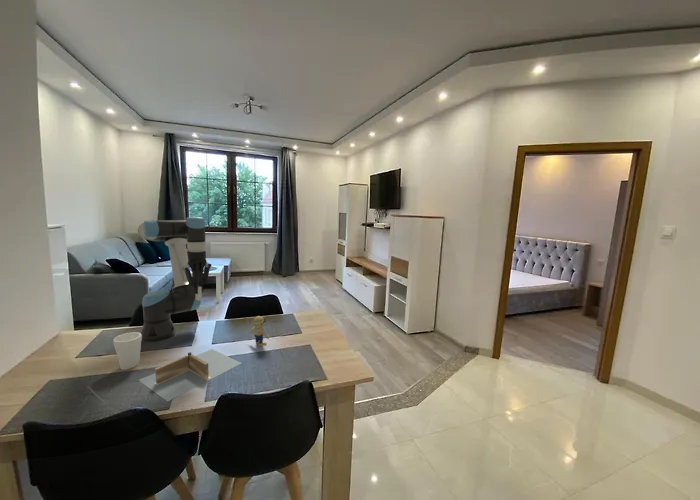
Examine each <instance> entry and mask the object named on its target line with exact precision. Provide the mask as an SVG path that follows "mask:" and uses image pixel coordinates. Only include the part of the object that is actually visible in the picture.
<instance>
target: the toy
mask: <svg viewBox="0 0 700 500" xmlns="http://www.w3.org/2000/svg"><path fill="white" fill-rule="evenodd" d="M265 323H266V319H265V318H264V317H263V316H260V315H257V316H255V317H254V318H253V324H254V326H253V327H252V328H251V330H250V331H249V332H248V334H249V335H250V334H251V333H253V335H254V337H255V345H259V346H265V345H267V342H264V337H265V338H266V339H267V340H269V339H270V336H269V335H267V333H266V331H265V329H264V326H265Z"/></svg>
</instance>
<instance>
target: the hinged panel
mask: <svg viewBox="0 0 700 500" xmlns="http://www.w3.org/2000/svg"><path fill="white" fill-rule="evenodd" d="M187 356H188V364H189V368H190V369H191V370H192V371H194V372H196V373H197V374H199V375H201V376H202V377H204V378H208V377H209V371H208V363H207V362H205V361H203V360H201V359H199V358H198V357H196V355H194V354H193V353H192V352H191V351H190V352H188V353H187Z"/></svg>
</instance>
